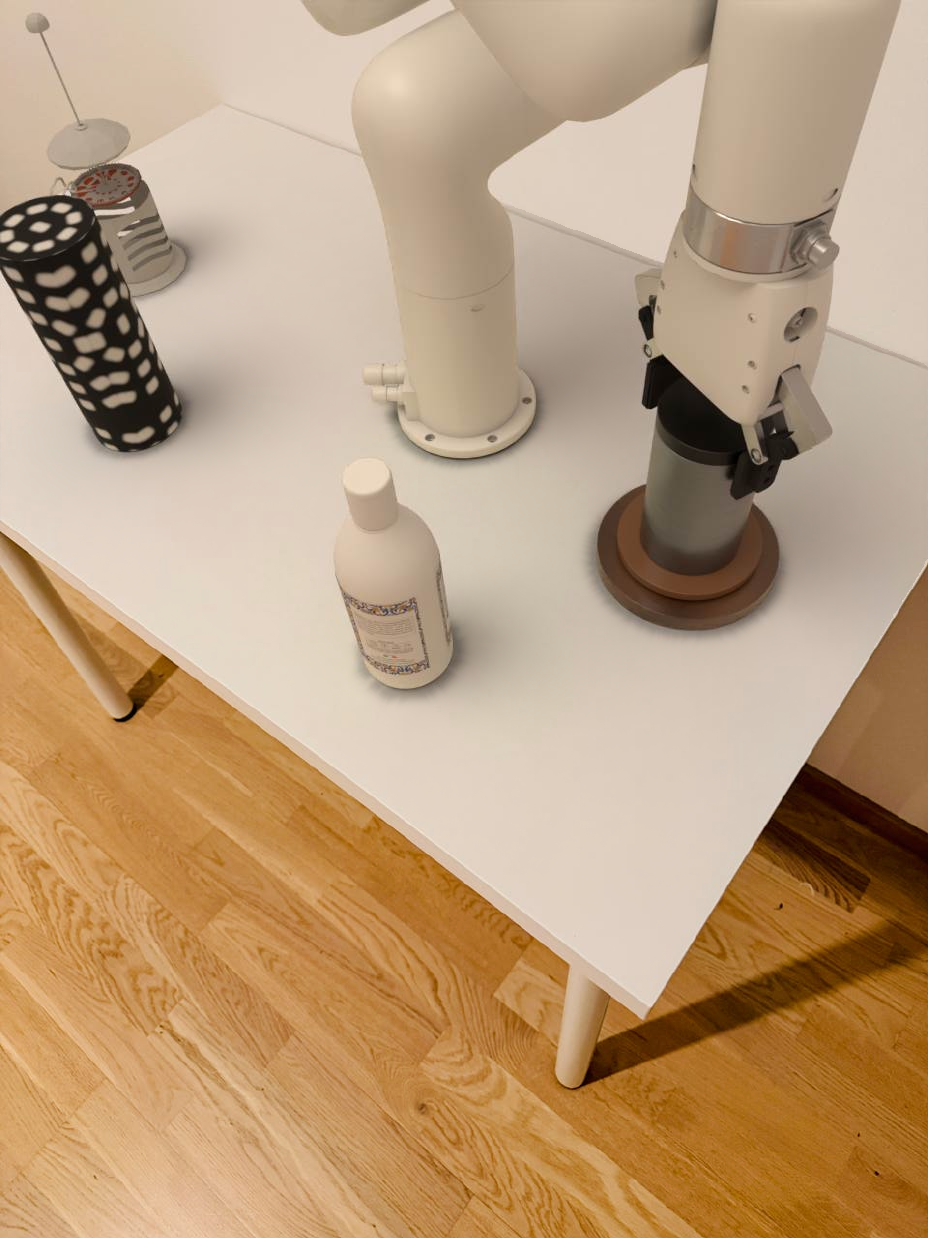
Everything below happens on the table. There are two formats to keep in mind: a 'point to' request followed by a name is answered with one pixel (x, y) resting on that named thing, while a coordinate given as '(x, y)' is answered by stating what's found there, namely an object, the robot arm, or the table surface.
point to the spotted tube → (87, 320)
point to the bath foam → (391, 581)
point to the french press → (114, 194)
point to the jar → (691, 503)
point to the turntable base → (679, 610)
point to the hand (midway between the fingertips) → (704, 442)
